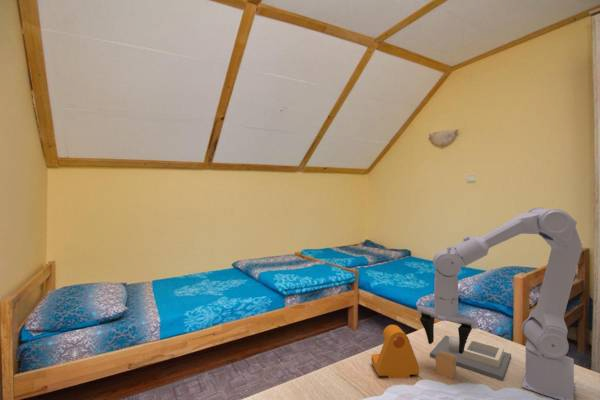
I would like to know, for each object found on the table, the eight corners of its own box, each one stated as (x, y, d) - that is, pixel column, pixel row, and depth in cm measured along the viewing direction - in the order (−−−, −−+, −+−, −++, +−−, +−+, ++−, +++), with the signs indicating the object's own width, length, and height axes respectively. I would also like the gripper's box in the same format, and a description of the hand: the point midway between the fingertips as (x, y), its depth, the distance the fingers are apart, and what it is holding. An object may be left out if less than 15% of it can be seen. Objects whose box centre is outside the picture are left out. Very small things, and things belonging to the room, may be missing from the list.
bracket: (407, 362, 87) (407, 320, 87) (419, 377, 80) (419, 331, 80) (370, 363, 86) (370, 321, 86) (378, 378, 79) (378, 332, 79)
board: (511, 357, 89) (511, 342, 89) (502, 380, 78) (502, 363, 78) (445, 338, 101) (445, 324, 101) (429, 356, 90) (429, 341, 90)
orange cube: (456, 372, 82) (456, 355, 82) (451, 379, 79) (451, 361, 79) (440, 366, 85) (440, 350, 85) (435, 373, 82) (435, 356, 82)
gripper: (413, 294, 83) (413, 343, 84) (473, 307, 74) (472, 363, 74) (422, 288, 89) (422, 335, 89) (479, 299, 79) (479, 351, 79)
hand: (445, 347), depth 82 cm, fingers open, 7 cm apart
